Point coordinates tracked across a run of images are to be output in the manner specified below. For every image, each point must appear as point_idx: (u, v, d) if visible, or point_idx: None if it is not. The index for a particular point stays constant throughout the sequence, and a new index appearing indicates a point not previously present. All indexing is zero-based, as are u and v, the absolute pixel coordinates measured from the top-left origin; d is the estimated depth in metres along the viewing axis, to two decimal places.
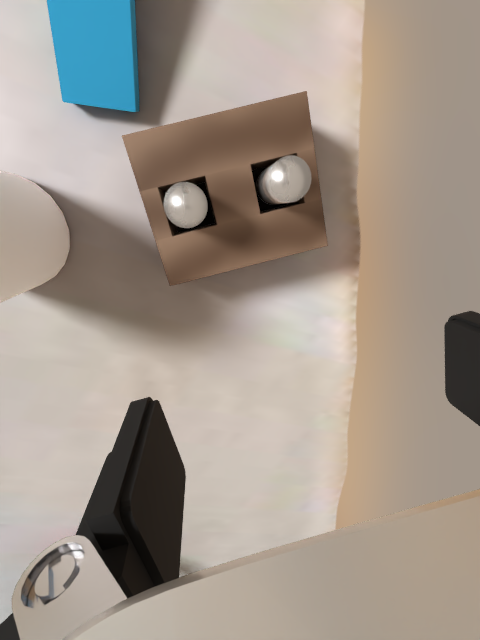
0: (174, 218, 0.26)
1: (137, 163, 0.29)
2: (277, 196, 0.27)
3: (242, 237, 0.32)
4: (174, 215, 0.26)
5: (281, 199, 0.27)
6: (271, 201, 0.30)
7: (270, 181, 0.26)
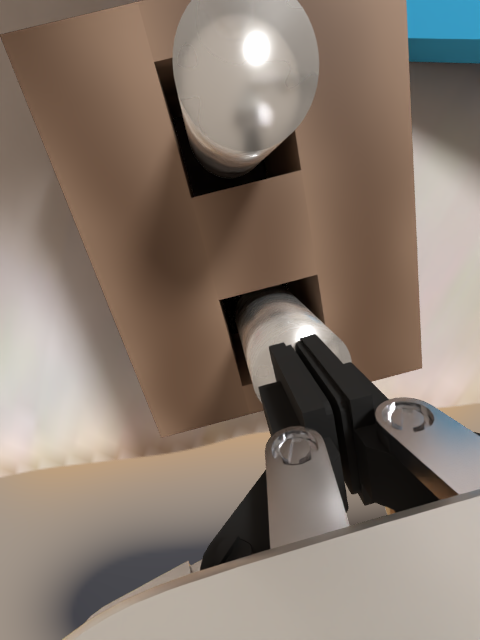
0: (203, 17, 0.07)
1: None
2: (266, 349, 0.11)
3: (165, 261, 0.13)
4: (214, 16, 0.07)
5: (259, 358, 0.11)
6: (245, 321, 0.14)
7: (300, 330, 0.11)
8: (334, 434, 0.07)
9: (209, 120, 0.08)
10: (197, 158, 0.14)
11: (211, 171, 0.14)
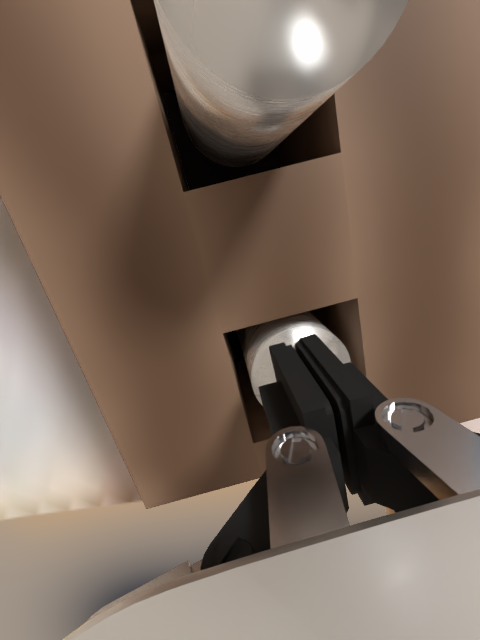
0: None
1: None
2: (265, 349, 0.11)
3: (148, 281, 0.09)
4: None
5: (258, 359, 0.11)
6: None
7: (300, 330, 0.11)
8: (334, 434, 0.07)
9: (211, 35, 0.04)
10: (192, 137, 0.10)
11: (212, 156, 0.10)
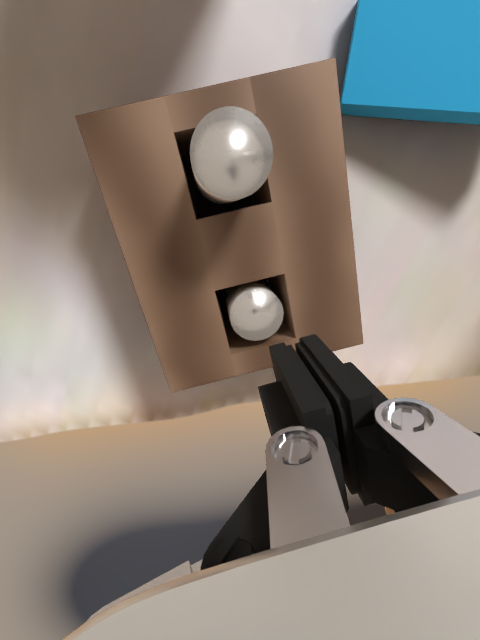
0: (207, 128, 0.13)
1: (293, 79, 0.17)
2: (236, 300, 0.20)
3: (177, 262, 0.19)
4: (213, 128, 0.13)
5: (233, 305, 0.20)
6: (228, 291, 0.24)
7: (254, 290, 0.20)
8: (334, 434, 0.07)
9: (210, 182, 0.14)
10: (200, 191, 0.19)
11: (210, 200, 0.20)
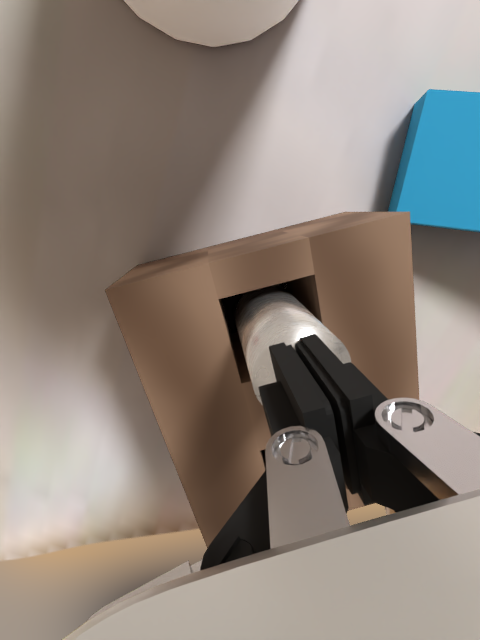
0: None
1: (359, 237, 0.14)
2: None
3: (219, 426, 0.17)
4: None
5: None
6: None
7: None
8: (334, 434, 0.07)
9: None
10: None
11: None
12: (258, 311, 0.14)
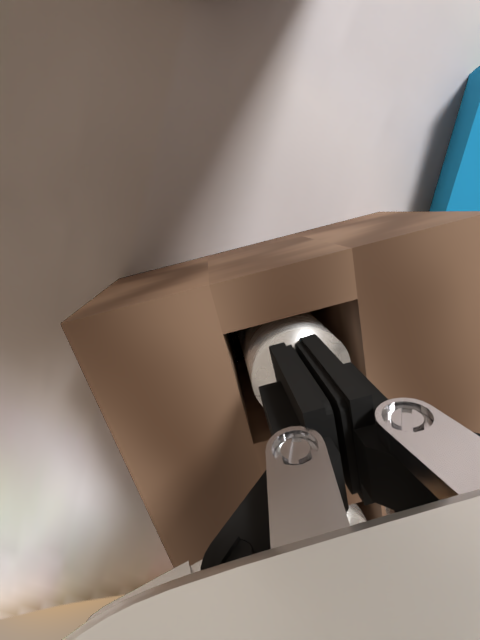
0: None
1: (422, 247, 0.10)
2: None
3: (222, 497, 0.13)
4: None
5: None
6: None
7: None
8: (334, 434, 0.07)
9: None
10: None
11: None
12: None
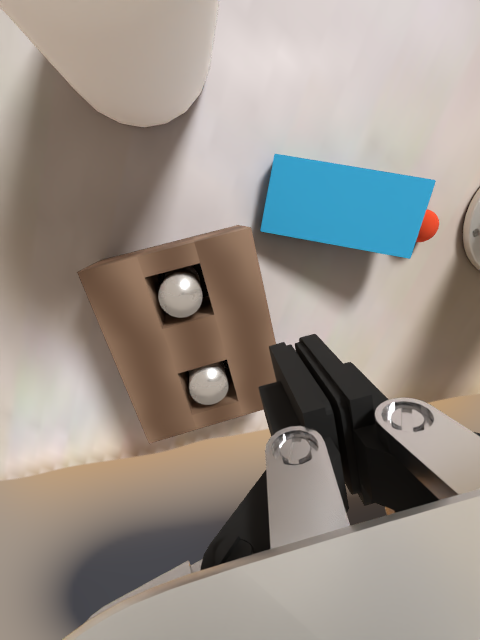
0: (167, 286, 0.26)
1: (223, 241, 0.25)
2: (193, 378, 0.29)
3: (150, 357, 0.27)
4: (170, 285, 0.26)
5: (191, 382, 0.29)
6: None
7: (206, 371, 0.29)
8: (334, 434, 0.07)
9: (169, 310, 0.26)
10: None
11: None
12: (168, 273, 0.29)
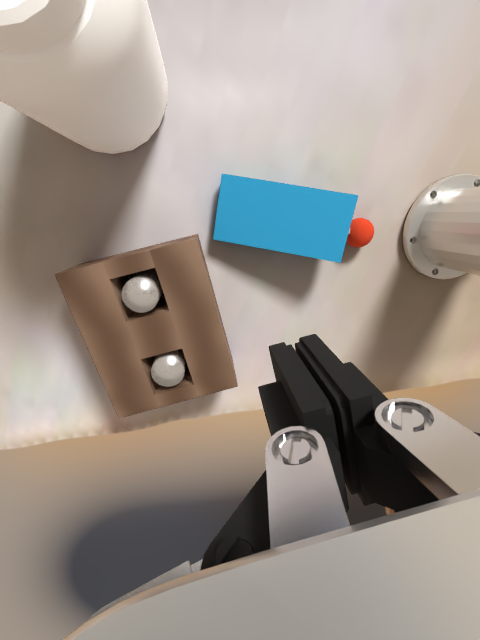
0: (128, 286, 0.31)
1: (174, 250, 0.31)
2: (154, 364, 0.34)
3: (117, 345, 0.33)
4: (131, 286, 0.31)
5: (152, 367, 0.34)
6: None
7: (164, 358, 0.34)
8: (334, 434, 0.07)
9: (131, 306, 0.32)
10: None
11: None
12: (134, 275, 0.34)
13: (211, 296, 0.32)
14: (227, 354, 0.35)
